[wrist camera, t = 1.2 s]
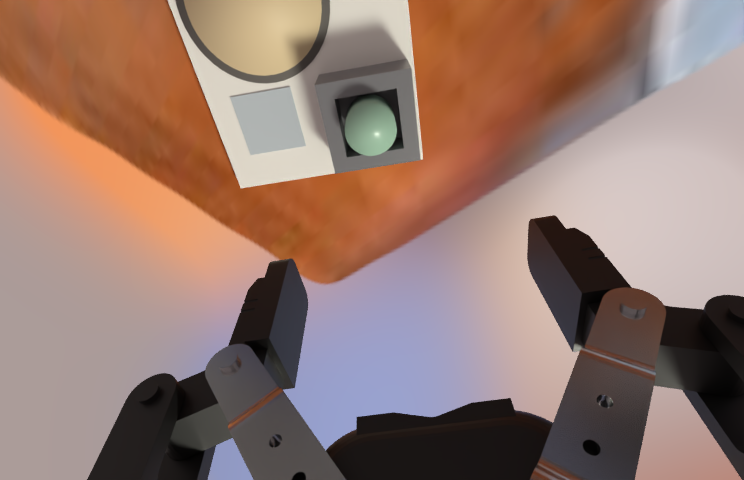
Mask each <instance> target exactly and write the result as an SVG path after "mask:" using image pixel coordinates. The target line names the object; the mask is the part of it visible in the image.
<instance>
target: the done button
mask: <svg viewBox="0 0 744 480" xmlns="http://www.w3.org/2000/svg"><path fill="white" fill-rule="evenodd" d="M396 134H397V126H396V122H395V117H394V112H393V109H392V107H391V106H390V104H389V103H388V102H387V101H386V100H385V99H384V98H382V97H380V96H377V95H371V94H369V95H363V96H361V97H359V98H357V99H356V100H354V101H353V102H352V103H351V105H350V106H349V108H348V111H347V114H346V123H345V137H346V140H347V142H348V144H349V145H350V146H351V148H352V149H353V150H355V151H356V152H358V153H360V154H362V155H366V156H375V155H379V154H382V153H384V152H385V151H387V150H388V149H389V148H390V147H391V146H392V144H393V143H394V141H395V138H396Z"/></svg>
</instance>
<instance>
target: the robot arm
mask: <svg viewBox="0 0 744 480" xmlns="http://www.w3.org/2000/svg"><path fill="white" fill-rule="evenodd" d="M527 255H528V256H527V257H528V258H527V259H528V266H529V269H530V272H531V274H532V277H533V279H534V280H535V282H536V284H537V286H538V288H539V290H540V292H541V293H542V295H543V297H544V299H545V301H546V303H547V304H548V306H549V308H550V310H551V312H552V314H553V316H554V318H555V319H556V321H557V323H558V325H559V327H560V329H561V331H562V333H563V334H564V336H565V338H566V340H567V342H568V344H569V345H570V347H571V349H572V351H573V352H577V351H580V353H579V355H578V358H577V360H576V363H575V366H574V368H573V371H572V374H571V376H570V379H569V382H568V385H567V387H566V390H565V393H564V395H563V398H562V401H561V403H560V406H559V409H558V412H557V414H556V417H555V419H554V422H553V423H552V422H550V421H548V420H546V419H544V418H542V417H539V416H536V415H533V414H531V413H527V412H522V411H516V410H514V407H513V404H512V401H511V399H510V398H508V399H499V400H491V401H484V402H476V403H470V404H468V405H465V406H462V407H460V408H457V409H455V410H452V411H450V412H447V413H444V414H442V415H440V416H436V417H424V416H416V415H408V414H401V413H386V414H378V415H370V416H362V417H357V429H356V430H354V431H352V432H350V433H348V434H346V435H345V436H342V437H341V438H340V439H338V440H337V441H335V442H334V443H333V444H332V445H331V446H330V447H329V448H328V449H327V450H326V451H325V449H324V448H323V446H322V445H321V444H320V442H319V441H318V440H317V438H316V436H315V435H314V434H313V432H312V431H311V429H310V428H309V427H308V425H307V424H306V422H305V421H304V420H303V418H302V417H301V415H300V414H299V412H298V411H297V410H296V408H295V407H294V405H293V404H292V403H291V401H290V400H289V398H288V397H287V396H286V394H285V393H284V391H283V389H290V388H295V382H296V377H297V371H298V365H299V358H300V352H301V346H302V340H303V334H304V328H305V322H306V316H307V310H308V299H307V293H306V290H305V287H304V285H303V282H302V280H301V277H300V274H299V272H298V269H297V267H296V264H295V262H294V260H293V259H285V260H279V261H273V262H270V263H269V266H268V269H267V272H266V275H265V277H264V278H258V279H257V280H256V282H254V284H253V285H252V286H251V287H250V288H249V290H248V292H247V295H246V298H245V303H244V304H243V306H242V309H241V313H240V315H239V317H238V320H237V323H236V326H235V329H234V331H233V334H232V337H231V340H230V343H229V345H228V347H225V348H223V349H222V350H220V351H219V352H218V353H216V354H215V355H214V356H213V357H212V358H211V360H210V361H209V363H208V364H207V366H206V370H205V371H203V372H201V373H198V374H196V375H194V376H191V377H189V378H186V379H184V380H182V381H179V382H177V380H176V379H175V378H174V377H173V376H172V375H170V374H166V373H163V374H157V375H154V376H152V377H150V378H148V379H146V380H144V381H143V382H141V383H140V384H139V385H138V386H137V387H136V388H135V389H134V390H133V391H132V392H131V393H130V395H129V396H128V398H127V399H126V401H125V404H124V406H123V408H122V410H121V412H120V414H119V416H118V418H117V420H116V422H115V424H114V426H113V428H112V430H111V432H110V434H109V436H108V439H107V441H106V442H105V444H104V446H103V448H102V451H101V453H100V455H99V457H98V459H97V461H96V463H95V465H94V467H93V469H92V471H91V473H90V475H89V477H88V479H87V480H207V479H208V475H209V471H210V467H211V463H212V459H213V455H214V451H215V447H216V445H217V444H219V443H222V442H224V441H226V440H228V439H231V438H233V439H234V441H235V443H236V445H237V447H238V449H239V451H240V453H241V455H242V457H243V459H244V461H245V463H246V465H247V467H248V469H249V471H250V473H251V475H252V477H253V479H254V480H635V475H636V470H637V465H638V460H639V455H640V450H641V445H642V440H643V436H644V431H645V426H646V421H647V416H648V411H649V406H650V401H651V396H652V392H653V386H661V387H667V388H675V389H681V390H683V392H684V393H685V395H686V396H687V398H688V399H689V400H690V402H691V404H692V405H693V407H694V408H695V410H696V411H697V413H698V414H699V415H700V417H701V419H702V420H703V422H704V423H705V424H706V426H707V428H708V429H709V431H710V432H711V434H712V435H713V437H714V438H715V440H716V441H717V443H718V444H719V445H720V447H721V449H722V450H723V452H724V453H725V454H726V456H727V458H728V459H729V460H730V462H731V464H732V465H733V466H734V468H735V470H736V471H737V473H738V474H739V476H740V477H741V479H742V480H744V297H741V296H735V295H734V296H733V295H722V296H716V297H713V298H712V299H710V300H709V301H708V302H707V303H706V305H705V307H704V310H702V309H690V308H679V307H669V306H664V305H663V303H662V302H661V301H660V300H659V299H658V298H656V297H655V296H653V295H652V294H650V293H648V292H645V291H643V290H639V289H635V288H632V287H631V286H630V285H629V284H628V283H627V282H626V280H625V279H624V278H623V276H622V275H621V274H620V273H619V272H618V271H617V269H616V268H615V267H614V266H613V264H612V263H611V262H610V261H609V260H608V259H607V257H605V255H604V253H603V252H602V251H601V250H600V249H598V247H597V245H596V244H595V243H594V241H593V240H592V239H591V238H590V236H588V235H587V234H585V233H583V232H581V231H579V230H578V229H576V228H570V229H566V228H565V227H564V226H563V224H562V223H561V222H560V221H559V219H558V218H557V217H556V216H548V217H542V218H536V219H531V220H530V221H529V229H528V253H527Z"/></svg>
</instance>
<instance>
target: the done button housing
mask: <svg viewBox="0 0 744 480" xmlns="http://www.w3.org/2000/svg"><path fill="white" fill-rule="evenodd" d="M315 90H316V94H317V98H318V102H319V107H320V111H321V115H322V119H323V124H324V128H325V132H326V136H327V141H328V145H329V149H330V153H331V158H332V162H333V166H334V170H335V174H336V173H342V172H348V171H355V170H361V169H367V168H374V167H380V166H386V165H392V164H399V163H405V162H411V161H418V160H421V159H420V149H419V139H418V129H417V119H416V109H415V99H414V89H413V79H412V69H411V66H410V64H409V62H408V60H407V59H403V60H397V61H392V62H386V63H381V64H375V65H370V66H364V67H358V68H353V69H347V70H342V71H336V72H330V73H325V74H319V76H318V78H317V80H316V83H315ZM369 94H371V95H377V96H380V97H382V98H384V99H385V100H386V101H387V102H388V103H389V104H390V106H391V107H392V109H393V112H394V117H395V122H396V126H397V134H396V138H395V141H394V143H393V144H392V146H391V147H390V148H389V149H388V150H387V151H385V152H384V153H382V154H379V155H375V156H366V155H362V154H360V153H358V152H356V151H355V150H353V149H352V148H351V146H350V145H349V144H348V142H347V140H346V137H345V123H346V114H347V111H348V108H349V106H350V105H351V103H352V102H353V101H354V100H356V99H357V98H359V97H361V96H363V95H369Z"/></svg>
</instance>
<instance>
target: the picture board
mask: <svg viewBox="0 0 744 480" xmlns="http://www.w3.org/2000/svg"><path fill="white" fill-rule="evenodd" d="M168 3H169V6H170V8H171V11H172V13H173V16H174V18H175V21H176V23H177V26H178V29H179V31H180V34H181V36H182V39H183V41H184V44H185V46H186V49H187V52H188V54H189V57H190V59H191V62H192V64H193V67H194V69H195V72H196V75H197V77H198V80H199V82H200V85H201V87H202V90H203V92H204V95H205V98H206V100H207V103H208V105H209V108H210V110H211V113H212V116H213V118H214V121H215V123H216V126H217V128H218V131H219V133H220V136H221V139H222V141H223V144H224V146H225V149H226V151H227V154H228V156H229V159H230V162H231V164H232V167H233V169H234V172H235V174H236V177H237V179H238V182H239V185H240V187H241V188H245V187H252V186H258V185H264V184H270V183H277V182H283V181H289V180H296V179H302V178H308V177H314V176H321V175H327V174H333V173H335V170H334V166H333V162H332V158H331V153H330V149H329V145H328V141H327V136H326V132H325V128H324V124H323V119H322V115H321V111H320V107H319V102H318V98H317V94H316V90H315V83H316V80H317V78H318V76H319V74H325V73H330V72H336V71H342V70H347V69H353V68H358V67H364V66H370V65H375V64H381V63H386V62H392V61H397V60H403V59H407V60H408V62H409V64H410V66H411V69H412V79H413V89H414V99H415V109H416V119H417V129H418V139H419V149H420V159H423V154H422V143H421V133H420V123H419V112H418V102H417V91H416V81H415V70H414V60H413V49H412V39H411V29H410V18H409V8H408V0H168Z"/></svg>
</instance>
